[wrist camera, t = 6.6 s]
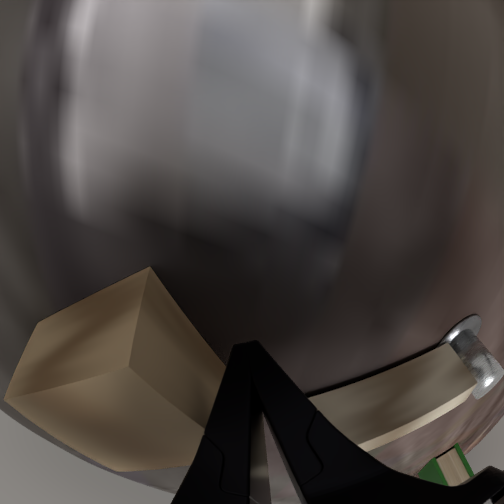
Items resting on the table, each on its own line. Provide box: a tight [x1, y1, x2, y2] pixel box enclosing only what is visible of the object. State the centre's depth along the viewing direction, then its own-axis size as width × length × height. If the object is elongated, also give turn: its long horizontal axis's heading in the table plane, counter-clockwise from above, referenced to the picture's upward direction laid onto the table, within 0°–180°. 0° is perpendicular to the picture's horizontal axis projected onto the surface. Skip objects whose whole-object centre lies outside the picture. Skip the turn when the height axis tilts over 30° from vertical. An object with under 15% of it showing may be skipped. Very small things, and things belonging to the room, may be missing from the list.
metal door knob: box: [436, 315, 504, 399], centre depth 13 cm, size 4×4×4 cm
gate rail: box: [308, 343, 478, 452], centre depth 13 cm, size 11×2×4 cm, turn 100°
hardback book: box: [418, 443, 474, 486], centre depth 36 cm, size 18×7×24 cm, turn 18°
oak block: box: [4, 267, 226, 472], centre depth 9 cm, size 6×6×4 cm
